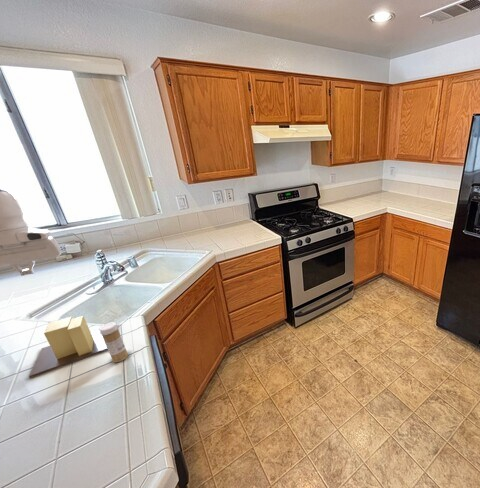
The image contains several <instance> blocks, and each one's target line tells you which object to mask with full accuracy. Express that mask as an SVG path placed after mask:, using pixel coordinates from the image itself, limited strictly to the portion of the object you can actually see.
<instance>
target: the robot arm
mask: <svg viewBox="0 0 480 488" xmlns="http://www.w3.org/2000/svg"><path fill="white" fill-rule="evenodd" d="M23 215H24V214H23V210H22V207H21V206H20V204H19V202H18V200H17V199H16V197H15V195H14V194H13V193H12V192H10V191H8V190H6V189H2V188H1V189H0V268H2V267H7V266H8V267H9V266H11V268H12V269H13V270H15V271H17V272H18V273H19V274H20V276H21V277H23V276H29V275H33V274H35V270H34V267H35V265H36V262H37V261H43V260H48V259H54V258H58V257H60V256H61V255H62V253H63V251H62V248H61V246H60V244H59V242H58V241H57V240H56V238H55V237H53V236H51V231H50V230H49V229H44V228H43V229H41V228H30V227H29V226H28V224H27V222H26V221H25V220H24V216H23ZM25 263H26V264H27V266H29V267H28V268H24V269H23V268H22V267H21V266H20V265H21V264H25Z"/></svg>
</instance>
